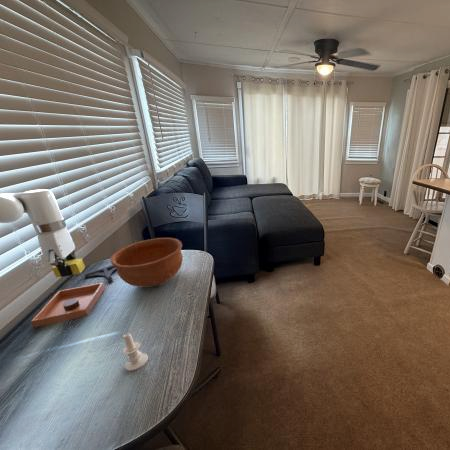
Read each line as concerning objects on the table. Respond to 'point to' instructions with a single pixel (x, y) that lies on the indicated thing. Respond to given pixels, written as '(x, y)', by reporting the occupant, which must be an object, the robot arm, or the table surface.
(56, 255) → the robot arm
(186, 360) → the table surface
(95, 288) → the pan
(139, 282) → the bowl
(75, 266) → the sponge
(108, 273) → the bracket
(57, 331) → the table surface
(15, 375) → the table surface
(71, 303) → the food scrap
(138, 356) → the chess piece
